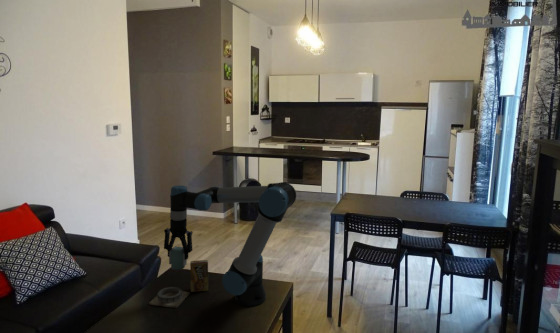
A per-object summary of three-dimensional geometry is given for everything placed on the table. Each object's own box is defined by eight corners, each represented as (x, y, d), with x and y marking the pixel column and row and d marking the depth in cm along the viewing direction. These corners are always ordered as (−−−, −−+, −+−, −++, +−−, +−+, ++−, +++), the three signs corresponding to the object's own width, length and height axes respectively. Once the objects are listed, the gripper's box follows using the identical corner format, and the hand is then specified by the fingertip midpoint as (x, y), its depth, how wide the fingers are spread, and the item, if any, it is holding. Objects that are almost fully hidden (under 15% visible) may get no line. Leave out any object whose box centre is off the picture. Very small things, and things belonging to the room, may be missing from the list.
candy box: (208, 287, 197) (207, 259, 195) (208, 291, 193) (208, 262, 191) (190, 288, 196) (190, 260, 193) (190, 292, 191) (190, 263, 189)
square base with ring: (189, 294, 190) (189, 287, 189) (176, 308, 176) (176, 301, 176) (164, 290, 193) (163, 284, 192) (149, 304, 179) (149, 297, 178)
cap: (187, 265, 185) (187, 246, 183) (180, 270, 178) (181, 251, 177) (175, 263, 186) (175, 244, 184) (168, 268, 180) (168, 249, 178)
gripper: (200, 218, 180) (199, 264, 183) (164, 213, 184) (163, 258, 187) (193, 223, 173) (192, 270, 176) (155, 218, 177) (155, 264, 180)
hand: (177, 264), depth 182 cm, fingers closed on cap, 6 cm apart
